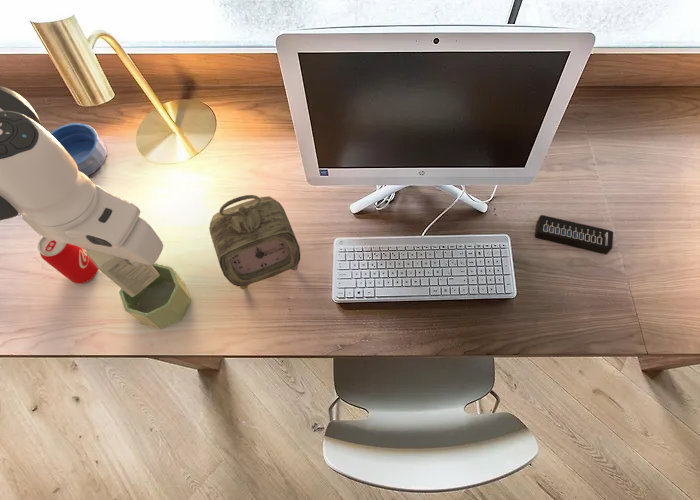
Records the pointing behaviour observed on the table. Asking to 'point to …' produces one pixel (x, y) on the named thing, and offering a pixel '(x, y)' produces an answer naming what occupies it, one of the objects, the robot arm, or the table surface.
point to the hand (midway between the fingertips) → (116, 256)
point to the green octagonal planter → (165, 313)
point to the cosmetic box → (124, 272)
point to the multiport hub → (574, 234)
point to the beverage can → (68, 260)
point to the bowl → (82, 146)
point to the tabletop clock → (253, 240)
